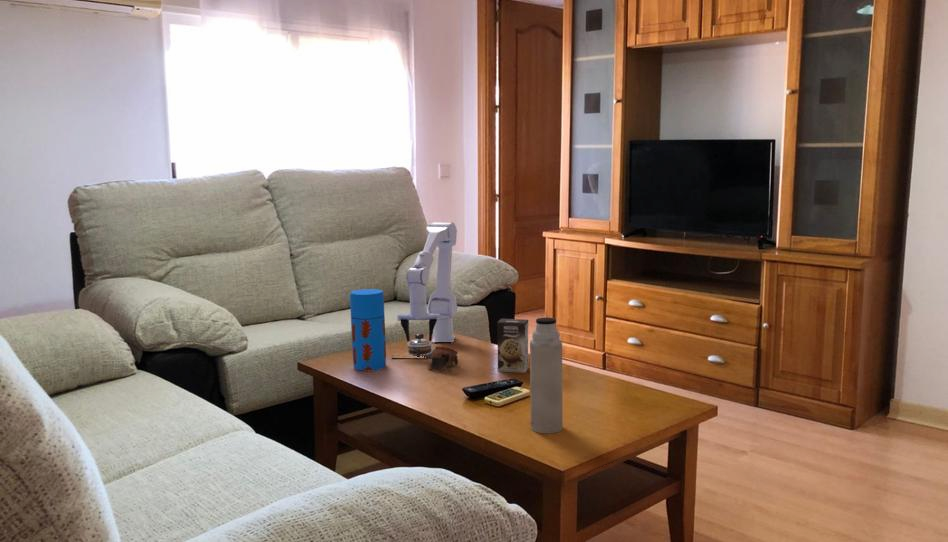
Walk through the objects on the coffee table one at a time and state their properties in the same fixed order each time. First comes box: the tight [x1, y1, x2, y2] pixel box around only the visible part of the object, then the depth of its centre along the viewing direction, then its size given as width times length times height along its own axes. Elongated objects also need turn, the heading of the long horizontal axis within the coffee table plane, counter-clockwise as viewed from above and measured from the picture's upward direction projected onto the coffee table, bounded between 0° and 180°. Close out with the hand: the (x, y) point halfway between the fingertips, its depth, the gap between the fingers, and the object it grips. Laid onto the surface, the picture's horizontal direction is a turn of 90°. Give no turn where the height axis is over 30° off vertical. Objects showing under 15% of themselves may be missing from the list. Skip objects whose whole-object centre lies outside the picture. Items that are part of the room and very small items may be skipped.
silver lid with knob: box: [409, 332, 429, 345], centre depth 272 cm, size 6×6×3 cm
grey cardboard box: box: [497, 318, 529, 374], centre depth 249 cm, size 9×6×16 cm
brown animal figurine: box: [428, 345, 459, 372], centre depth 253 cm, size 12×10×8 cm
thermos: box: [349, 288, 387, 372], centre depth 255 cm, size 11×11×25 cm
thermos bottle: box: [529, 317, 564, 434], centre depth 194 cm, size 8×8×28 cm
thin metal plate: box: [391, 340, 436, 359], centre depth 272 cm, size 13×18×4 cm
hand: (419, 340), depth 272 cm, fingers open, 7 cm apart
